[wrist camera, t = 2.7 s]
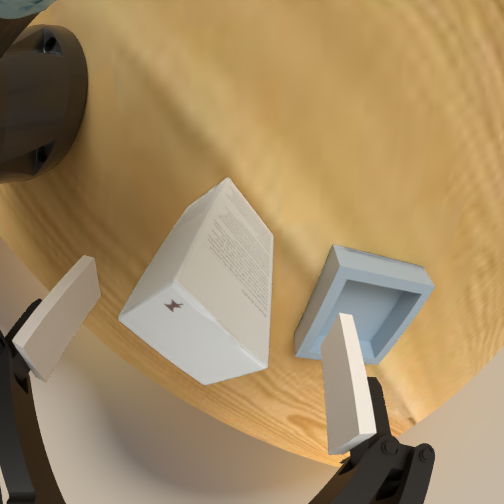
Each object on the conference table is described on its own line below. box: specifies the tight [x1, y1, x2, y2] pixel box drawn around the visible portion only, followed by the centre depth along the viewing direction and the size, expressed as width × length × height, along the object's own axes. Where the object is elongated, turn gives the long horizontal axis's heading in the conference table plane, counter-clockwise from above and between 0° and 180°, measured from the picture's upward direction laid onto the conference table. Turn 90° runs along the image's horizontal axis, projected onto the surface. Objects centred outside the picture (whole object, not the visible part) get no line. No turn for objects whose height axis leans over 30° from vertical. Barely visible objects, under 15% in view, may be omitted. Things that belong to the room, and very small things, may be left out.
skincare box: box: [118, 178, 274, 385], centre depth 16 cm, size 6×4×12 cm
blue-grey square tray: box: [294, 244, 435, 365], centre depth 23 cm, size 10×11×3 cm
